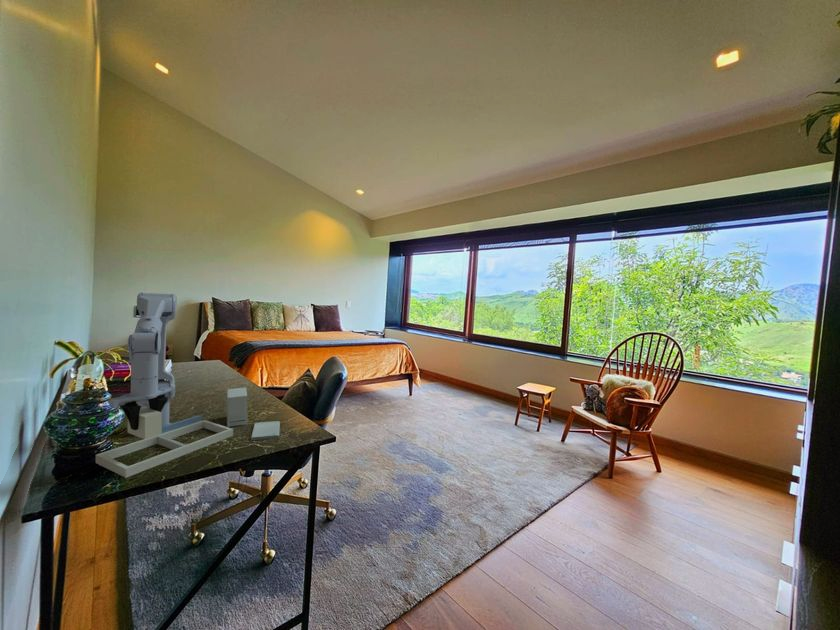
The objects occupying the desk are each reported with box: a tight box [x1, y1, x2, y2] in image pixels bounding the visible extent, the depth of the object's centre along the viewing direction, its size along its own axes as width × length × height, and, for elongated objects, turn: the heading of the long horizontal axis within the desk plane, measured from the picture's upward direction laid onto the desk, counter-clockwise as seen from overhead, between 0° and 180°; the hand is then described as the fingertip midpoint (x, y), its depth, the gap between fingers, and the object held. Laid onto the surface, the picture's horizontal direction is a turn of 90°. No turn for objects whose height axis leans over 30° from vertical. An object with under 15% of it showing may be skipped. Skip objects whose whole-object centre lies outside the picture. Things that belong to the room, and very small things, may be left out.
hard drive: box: [250, 420, 281, 442], centre depth 115 cm, size 2×8×12 cm
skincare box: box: [226, 386, 248, 428], centre depth 123 cm, size 10×6×10 cm, turn 29°
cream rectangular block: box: [127, 407, 162, 440], centre depth 93 cm, size 8×4×6 cm, turn 66°
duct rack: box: [95, 414, 234, 478], centre depth 100 cm, size 15×29×4 cm, turn 156°
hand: (144, 426), depth 93 cm, fingers closed on cream rectangular block, 4 cm apart
